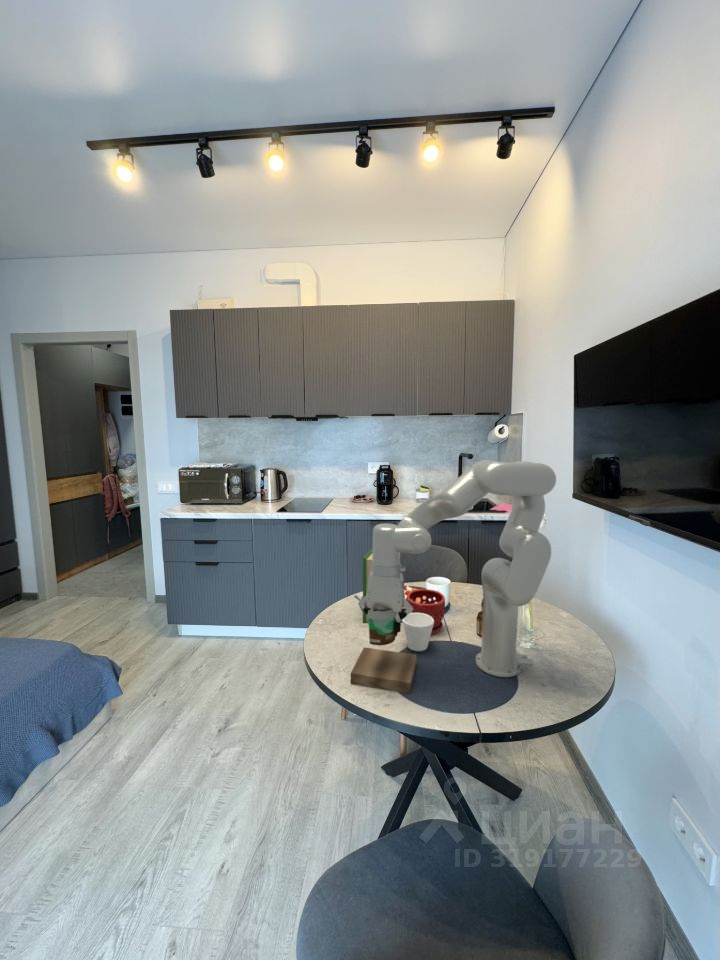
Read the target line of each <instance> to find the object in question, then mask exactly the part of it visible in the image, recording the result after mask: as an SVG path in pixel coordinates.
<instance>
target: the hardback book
mask: <svg viewBox="0 0 720 960" xmlns="http://www.w3.org/2000/svg"><path fill="white" fill-rule="evenodd" d="M372 560H373V547H372V548H371V549H370V550H369V551H368V552H367V553H366V555H364V556H363V557H362V599H363V598H364V597H365V596H366V595H367V589H368V581H369V576H370V573H371V571H372ZM365 604H366V605H367V601H366V602H365ZM366 621H367V622H369V618H367V614H366V613H365V612H364V611H363V610H362V624H364V623H365V624H366V623H367V622H366Z"/></svg>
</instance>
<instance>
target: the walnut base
mask: <svg viewBox="0 0 720 960" xmlns="http://www.w3.org/2000/svg"><path fill="white" fill-rule="evenodd" d="M417 658H418V655H417V654H413V653H406V652H399V651H393V650H384V649H379V648H373V647H372V648H370V647H363V648H362V649H361V652H360V654H359V656H358V658H357V660H356V662H355V663H354V665H353V667H352V670H351V671H350V684H351V685H357V686H363V687H369V688H374V689H380V690H386V691H391V692H399V693H403V694H409V695H410V694H411V689H412V687H413V686H412V685H413V680H414V678H415V672H416V668H417V664H418V663H417V662H418V661H417Z"/></svg>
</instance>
